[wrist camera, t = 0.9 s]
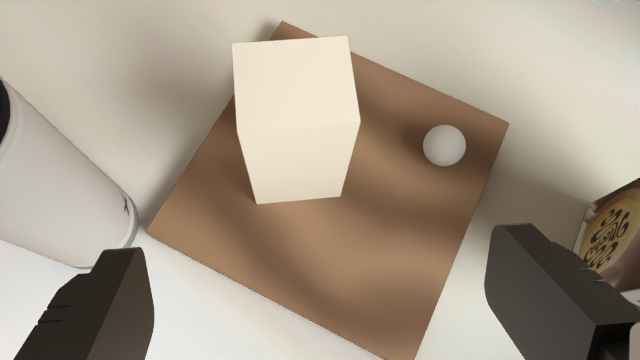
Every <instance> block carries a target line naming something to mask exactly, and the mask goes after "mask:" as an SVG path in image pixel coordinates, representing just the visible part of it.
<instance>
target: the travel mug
mask: <svg viewBox="0 0 640 360" xmlns="http://www.w3.org/2000/svg"><path fill="white" fill-rule="evenodd" d="M137 229H138V213H137V209H136V206H135V204H134V203H133V201H132V199H131V198H130V197H129V196H128V195H127V194H126V193H125V192H124V191H123V190H122V189H121V188H120V187H119V186H118V185H117V184H116V183H114V182H113V181H112V180H111V179H110V178H109V177H108V176H107V175H106V174H105V173H104V172H103V171H102V170H101V169H99V168H98V167H97V166H96V165H95V164H94V163H93V162H92V161H91V160H90V159H89V158H88V157H87V156H86V155H84V154H83V153H82V152H81V151H80V150H79V149H78V148H77V147H76V146H75V145H74V144H73V143H72V142H71V141H69V140H68V139H67V138H66V137H65V136H64V135H63V134H62V133H61V132H60V131H59V130H58V129H57V128H56V127H55V126H53V125H52V124H51V123H50V122H49V121H48V120H47V119H46V118H45V117H44V116H43V115H42V114H41V113H40V112H38V111H37V110H36V109H35V108H34V107H33V106H32V105H31V104H30V103H29V102H28V101H27V100H26V99H25V98H23V97H22V96H21V95H20V94H19V93H18V92H17V91H16V90H15V89H14V88H13V87H12V86H11V85H10V84H9V83H7V82H6V81H5V80H4V79H3V78H2V77H1V76H0V239H1V240H4V241H7V242H9V243H12V244H14V245H17V246H20V247H22V248H25V249H27V250H30V251H33V252H35V253H38V254H40V255H43V256H46V257H48V258H51V259H53V260H56V261H59V262H61V263H64V264H66V265H69V266H72V267H75V268H79V269H92V268H93V267H94V265H95V263H96V261H97V260H98V258H99V256H100V254H101V253H102V251H103V250H105V249H118V248H129V247H130V246H131V244H132V242H133V240H134V239H135V236H136V233H137Z"/></svg>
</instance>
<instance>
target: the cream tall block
mask: <svg viewBox="0 0 640 360" xmlns="http://www.w3.org/2000/svg"><path fill="white" fill-rule="evenodd" d="M232 57H233V73H234V90H235V106H236V123H237V133H238V137H239V141H240V144H241V148H242V152H243V156H244V159H245V163H246V167H247V170H248V174H249V178H250V181H251V185H252V189H253V192H254V196H255V200H256V203H257V204H266V203H276V202H287V201H298V200H308V199H319V198H330V197H340V195H341V192H342V188H343V184H344V181H345V177H346V173H347V170H348V166H349V162H350V159H351V155H352V152H353V148H354V144H355V141H356V137H357V133H358V130H359V126H360V122H361V120H360V114H359V107H358V101H357V94H356V88H355V82H354V75H353V69H352V62H351V56H350V49H349V43H348V37H347V36H336V37H321V38H306V39H291V40H276V41H262V42H247V43H232Z"/></svg>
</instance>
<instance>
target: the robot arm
mask: <svg viewBox="0 0 640 360" xmlns="http://www.w3.org/2000/svg"><path fill="white" fill-rule="evenodd" d="M484 287H485V295H486V299H487V302H488V304H489V306H490V308H491V310H492V311H493V313H494V314H495V316H496V317H497V319H498V320H499V321H500V323H501V324H502V326H503V327H504V329H505V330H506V332H507V333H508V335H509V336H510V338H511V339H512V341H513V342H514V344H515V345H516V347H517V348H518V350H519V351H520V353H521V354H522V356H523V357H524V358H525V360H640V311H639V310H638V309H637V308H636V307H635V306H634V305H632V304H631V303H630V302H629V301H628V300H627V299H626V298H625V297H624V296H622V295H621V294H620V293H619V292H618V291H617V290H616V289H615V288H614V287H613V286H611V285H610V284H609V283H608V282H605V281H604V278H603V277H601V276H600V275H599V274H598V273H597V272H596V271H595V270H592V269H591V267H590V266H589V265H588V264H587V263H586V262H585V261H584V260H583V259H581V258H580V257H579V256H578V255H577V254H576V253H574V252H572V251H570V250H568V249H566V248H564V247H563V246H561V245H559V244H557V243H555V242H550V241H549V240H548V239H547V238H546V237H545V236H544V235H543V234H542V233H541V232H540V231H539V230H538V229H537V228H536V227H534V226H533V225H532V224H530V223H518V224H503V225H496V226H495V227H494V229H493V231H492V235H491V241H490V247H489V254H488V261H487V268H486V274H485V282H484ZM153 328H154V305H153V299H152V294H151V288H150V283H149V277H148V272H147V266H146V261H145V256H144V252H143V250H142V248H140V247H133V248H118V249H105V250H103V251H102V253H101V254H100V256H99V258H98V260H97V261H96V263H95V265H94V267H93V268H92V270H91V272H90V273H86V274H78V275H76V276H75V277H74V278H72V279H71V280H70V281H69V282H67V283H66V284H65V285H64V286H62V287H61V288H60V289H58V291H57V292H56V294H55V296H54V297H53V299H52V300H51V302H50V303H49V305H48V307H47V310H45V311H44V313H43V314H42V316H41V317H40V319H39V321H38V325H35V327H34V328H33V330H32V331H31V333H30V335H29V336H28V338H27V339H26V341H25V342H24V344H23V345H22V347H21V349H20V350H19V352H18V353H17V355H16V356H15V358H14V359H13V360H145V357H146V353H147V350H148V347H149V343H150V340H151V337H152V333H153Z"/></svg>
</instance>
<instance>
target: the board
mask: <svg viewBox="0 0 640 360" xmlns="http://www.w3.org/2000/svg"><path fill="white" fill-rule="evenodd" d="M306 38H319V37H317V36H315V35H312V34H310V33H308V32H306V31H303V30H301V29H299V28H297V27H295V26H292V25H290V24H288V23H286V22H283V21H281V23H280V24H279V26H278V28H277V29H276V31H275V32H274V34H273V35H272V37H271V38H270V40H269V41H276V40H291V39H306ZM350 56H351V62H352V69H353V75H354V82H355V88H356V94H357V101H358V107H359V114H360V120H361V122H360V126H359V130H358V133H357V137H356V141H355V144H354V148H353V152H352V155H351V159H350V162H349V166H348V170H347V173H346V177H345V181H344V184H343V188H342V192H341V195H340V197H330V198H319V199H308V200H298V201H287V202H276V203H266V204H257V203H256V200H255V196H254V192H253V189H252V185H251V181H250V178H249V174H248V170H247V167H246V163H245V159H244V156H243V152H242V148H241V144H240V141H239V137H238V133H237V123H236V106H235V94H234V96H233V97H232V99H231V100H230V102H229V103H228V105H227V106H226V108H225V109H224V111H223V113H222V114H221V116H220V117H219V119H218V120H217V122H216V123H215V125H214V126H213V128H212V130H211V131H210V133H209V134H208V136H207V137H206V139H205V140H204V142H203V143H202V145H201V146H200V148H199V150H198V151H197V153H196V154H195V156H194V157H193V159H192V160H191V162H190V163H189V165H188V167H187V168H186V170H185V171H184V173H183V174H182V176H181V177H180V179H179V180H178V182H177V184H176V185H175V187H174V188H173V190H172V191H171V193H170V194H169V196H168V197H167V199H166V201H165V202H164V204H163V205H162V207H161V208H160V210H159V211H158V213H157V214H156V216H155V218H154V219H153V221H152V222H151V224H150V225H149V227H148V228H147V230H146V231H145V232H146V233H147V234H148V235H150V236H151V237H152V238H154V239H156V240H158V241H160V242H162V243H164V244H166V245H168V246H170V247H171V248H173V249H175V250H177V251H179V252H181V253H183V254H185V255H187V256H189V257H191V258H192V259H194V260H196V261H198V262H200V263H202V264H204V265H206V266H208V267H210V268H212V269H213V270H215V271H217V272H219V273H221V274H223V275H225V276H227V277H229V278H231V279H232V280H234V281H236V282H238V283H240V284H242V285H244V286H246V287H248V288H250V289H252V290H253V291H255V292H257V293H259V294H261V295H263V296H265V297H267V298H269V299H271V300H272V301H274V302H276V303H278V304H280V305H282V306H284V307H286V308H288V309H290V310H292V311H293V312H295V313H297V314H299V315H301V316H303V317H305V318H307V319H309V320H311V321H312V322H314V323H316V324H318V325H320V326H322V327H324V328H326V329H328V330H330V331H332V332H333V333H335V334H337V335H339V336H341V337H343V338H345V339H347V340H349V341H351V342H352V343H354V344H356V345H358V346H360V347H362V348H364V349H366V350H368V351H370V352H372V353H373V354H375V355H377V356H379V357H381V358H383V359H385V360H414V359H415V357H416V354H417V352H418V349H419V347H420V344H421V342H422V339H423V337H424V334H425V332H426V330H427V327H428V325H429V322H430V320H431V317H432V315H433V312H434V310H435V307H436V305H437V302H438V300H439V297H440V295H441V292H442V290H443V287H444V285H445V282H446V280H447V277H448V275H449V272H450V270H451V267H452V265H453V262H454V260H455V258H456V255H457V253H458V250H459V248H460V245H461V243H462V240H463V238H464V235H465V233H466V230H467V228H468V225H469V223H470V220H471V218H472V215H473V213H474V210H475V208H476V205H477V203H478V200H479V198H480V195H481V193H482V191H483V188H484V186H485V183H486V181H487V178H488V176H489V173H490V171H491V168H492V166H493V163H494V161H495V158H496V156H497V153H498V151H499V148H500V146H501V143H502V141H503V138H504V136H505V133H506V131H507V128H508V126H509V123H508V122H506V121H504V120H502V119H499V118H497V117H495V116H493V115H490V114H488V113H486V112H484V111H481V110H479V109H477V108H475V107H473V106H470V105H468V104H466V103H464V102H461V101H459V100H457V99H455V98H453V97H450V96H448V95H446V94H444V93H441V92H439V91H437V90H435V89H433V88H430V87H428V86H426V85H424V84H421V83H419V82H417V81H415V80H412V79H410V78H408V77H406V76H404V75H401V74H399V73H397V72H395V71H392V70H390V69H388V68H386V67H384V66H381V65H379V64H377V63H375V62H372V61H370V60H368V59H366V58H364V57H361V56H359V55H357V54H355V53H352V52H350ZM439 125H450V126H453V127H455V128H457V129H458V130H459V131H460V132H461V133H462V134H463V136H464V138H465V142H466V149H465V152H464V155H463V156H462V158H461V159H460V160H459V161H458V162H457V163H455V164H453V165H450V166H438V165H435V164H433V163H432V162H430V161H429V160H428V159H427V157H426V156H425V154H424V150H423V142H424V138H425V136H426V135H427V133H428V132H429V131H430V130H431V129H433V128H434V127H436V126H439Z"/></svg>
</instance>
